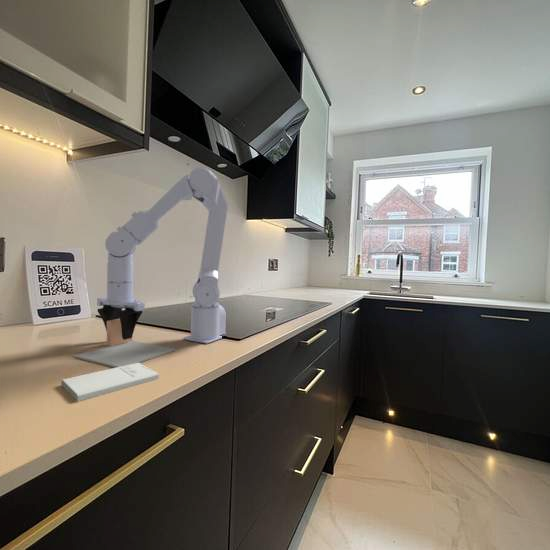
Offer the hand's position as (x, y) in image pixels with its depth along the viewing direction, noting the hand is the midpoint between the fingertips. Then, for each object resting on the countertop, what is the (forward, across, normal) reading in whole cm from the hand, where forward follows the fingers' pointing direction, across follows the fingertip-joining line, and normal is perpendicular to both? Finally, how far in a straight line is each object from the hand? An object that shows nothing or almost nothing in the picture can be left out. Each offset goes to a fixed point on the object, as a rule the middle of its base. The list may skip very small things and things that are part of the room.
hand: (119, 337), depth 74 cm
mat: (+1, +9, -5) cm, 10 cm away
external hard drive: (+2, +20, -16) cm, 26 cm away
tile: (+2, 0, 0) cm, 2 cm away
